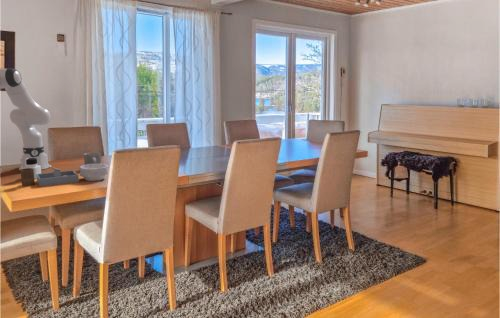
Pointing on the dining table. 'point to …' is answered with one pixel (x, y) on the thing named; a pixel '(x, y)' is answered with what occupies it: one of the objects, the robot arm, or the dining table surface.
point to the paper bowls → (93, 171)
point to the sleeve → (27, 177)
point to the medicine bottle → (33, 166)
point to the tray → (57, 177)
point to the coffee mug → (92, 158)
